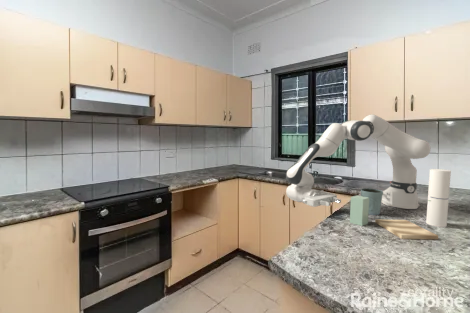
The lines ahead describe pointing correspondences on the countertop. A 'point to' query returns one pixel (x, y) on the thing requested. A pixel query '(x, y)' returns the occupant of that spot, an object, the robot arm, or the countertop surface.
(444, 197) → the cylindrical container
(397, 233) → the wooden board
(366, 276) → the countertop surface
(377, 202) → the teal plant pot
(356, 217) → the mint green rectangular block
